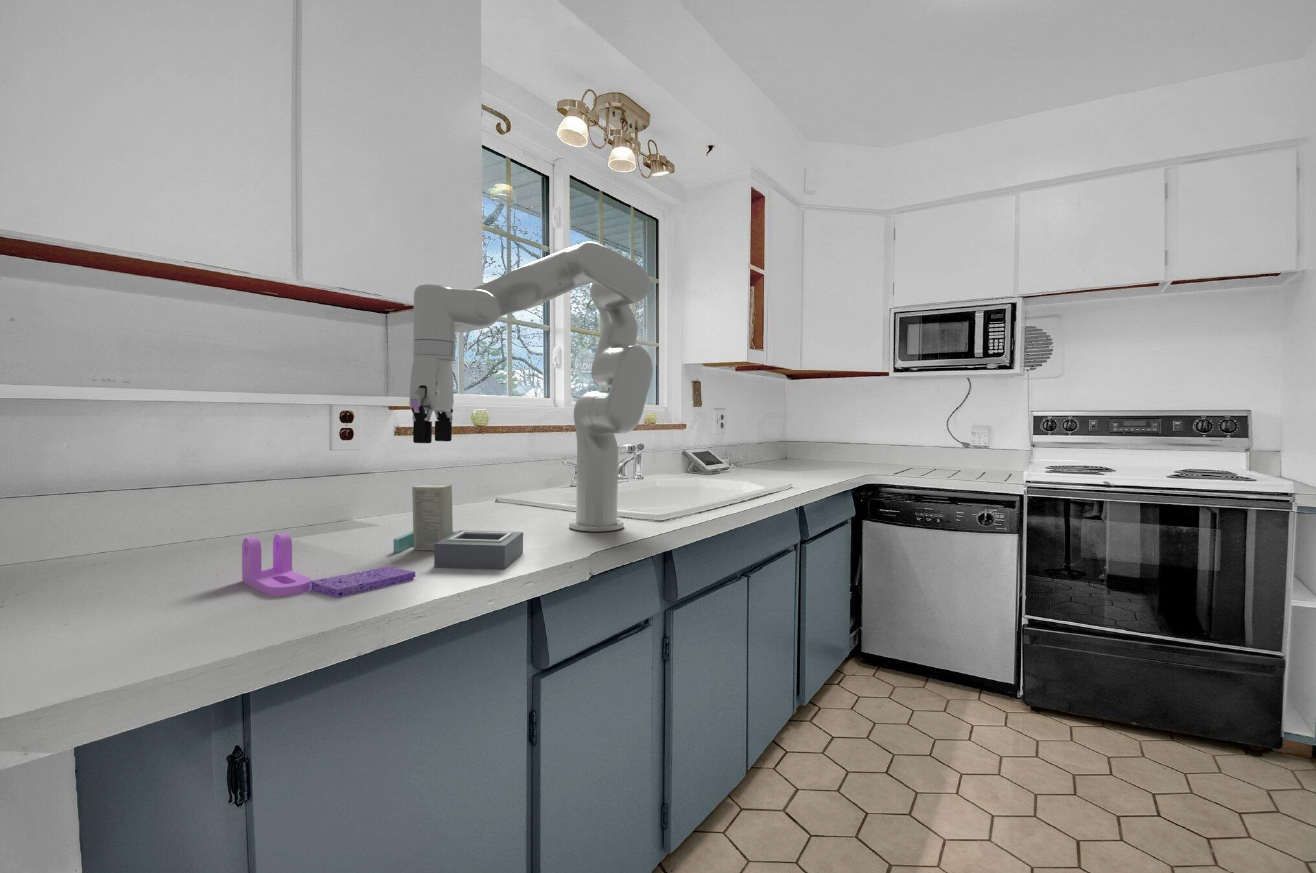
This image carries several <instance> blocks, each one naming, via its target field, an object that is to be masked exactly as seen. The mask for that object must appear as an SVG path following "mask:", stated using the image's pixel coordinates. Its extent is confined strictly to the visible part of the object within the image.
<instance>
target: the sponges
mask: <svg viewBox="0 0 1316 873" xmlns="http://www.w3.org/2000/svg"><path fill="white" fill-rule="evenodd" d="M414 578H416V571H414V570H409V569H402V568H398V567H393V566H389V565H387V566H382V567H378V568H373V569H372V568H371V569H368V570H362V571H357V572H351V573H347V574H342V575H336V576H330V577H323V578H319V579H314V580H311V589H310V591H313V590H314V592H316V593H320V592H321V593H320V594H323V595H326V596H330V597H334V598H337V599H340V598H343V597H344V598H345V597H349V596H352V595H356V594H360V593H364V592H369V591H373V590H377V589H381V588H385V587H389V586H393V585H397V584H402V583H406V582H410V581H413V580H414ZM368 590H369V591H368Z"/></svg>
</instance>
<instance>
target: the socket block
mask: <svg viewBox="0 0 1316 873" xmlns="http://www.w3.org/2000/svg"><path fill="white" fill-rule="evenodd" d="M433 552H434V554H433V557H434V558H433V561H434V562H433V568H448V569H449V568H450V569H453V568H454V569H455V568H456V569H484V570H485V569H486V570H487V569H488V570H489V569H490V570H506V569H507V568H508V567H509V566H510V565H511V564H512V563H514V562H515V560H517V559H518V558H520V556H521V555H523V554H524V531H499V530H497V531H496V530H495V531H494V530H493V531H492V530H467V529H465V530H464V529H463V530H458V532H456V533H454V534H452V535H450V536H448V537H446V538H444V539H442V540H440V541H438V542H436V543H435V544H434V550H433ZM522 553H523V554H522ZM507 566H508V567H507Z"/></svg>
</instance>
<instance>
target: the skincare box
mask: <svg viewBox="0 0 1316 873" xmlns="http://www.w3.org/2000/svg"><path fill="white" fill-rule="evenodd" d="M411 494H412V528H413V529H412V531H413V543H414V546H413V550H414V551H434V544H435V543H436V542H438V541H440V540H442V539H444V538H446V537H448V536H450V535H452V534H453V530H454V529H453V527H454V526H453V524H454V523H453V485H452V484H426V483H423V484H418V485H414V486H412V493H411Z"/></svg>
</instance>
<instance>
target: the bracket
mask: <svg viewBox="0 0 1316 873" xmlns="http://www.w3.org/2000/svg"><path fill="white" fill-rule="evenodd" d="M292 542H293V541H292V538H291V534H289V533H288V532H285V533H277V534H275V535H274V537H273V541H272V567H271V568H266V569H265V568H264V569H262V545H261V541H260V539H259V537H258V536H252V537H251V536H250V537H245V538H243V541H242V545H241V579H242V580H241V581H242V582H243V581H244V582H245V584H246V583H247V584H246V585H248V586H250V585H251V586H250V587H252V588H254V589H256V588H257V589H258V591H259V590H260V592H262V593H263V592H264V593H263V594H264V595H267V596H270V597H287V596H295V595H300V594H304V593H306V592H309V591H311V581H312V578H310V577H308V576H305V575H303V574H301V573H298V572H297V571H294V570H293V543H292ZM244 582H243V583H244ZM257 589H256V590H257ZM308 590H309V591H308ZM303 592H304V593H303Z"/></svg>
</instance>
